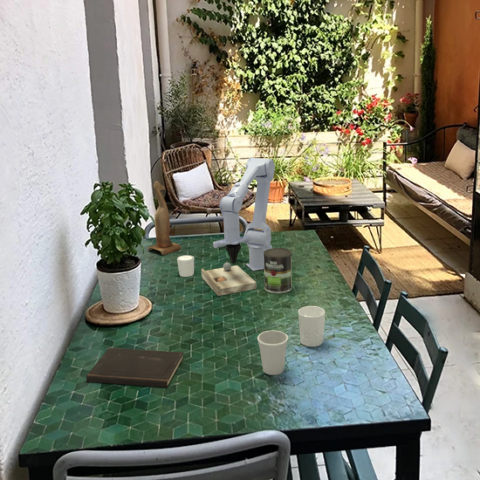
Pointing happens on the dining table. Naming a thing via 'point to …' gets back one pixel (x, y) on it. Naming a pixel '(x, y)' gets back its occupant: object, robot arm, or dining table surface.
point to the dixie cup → (273, 351)
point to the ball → (221, 279)
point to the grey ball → (227, 266)
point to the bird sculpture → (162, 225)
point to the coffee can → (278, 270)
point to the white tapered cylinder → (186, 265)
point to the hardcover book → (135, 367)
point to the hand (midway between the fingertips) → (233, 262)
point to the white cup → (311, 325)
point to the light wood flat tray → (228, 280)
